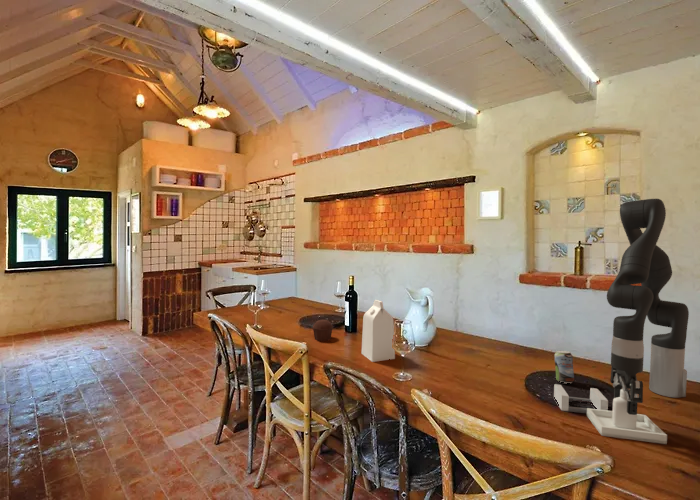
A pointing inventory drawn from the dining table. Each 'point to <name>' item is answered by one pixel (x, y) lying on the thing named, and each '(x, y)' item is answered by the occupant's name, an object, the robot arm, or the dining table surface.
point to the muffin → (322, 330)
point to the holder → (563, 399)
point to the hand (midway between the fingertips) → (624, 407)
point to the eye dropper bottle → (622, 413)
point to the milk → (377, 333)
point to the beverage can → (564, 366)
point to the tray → (642, 432)
